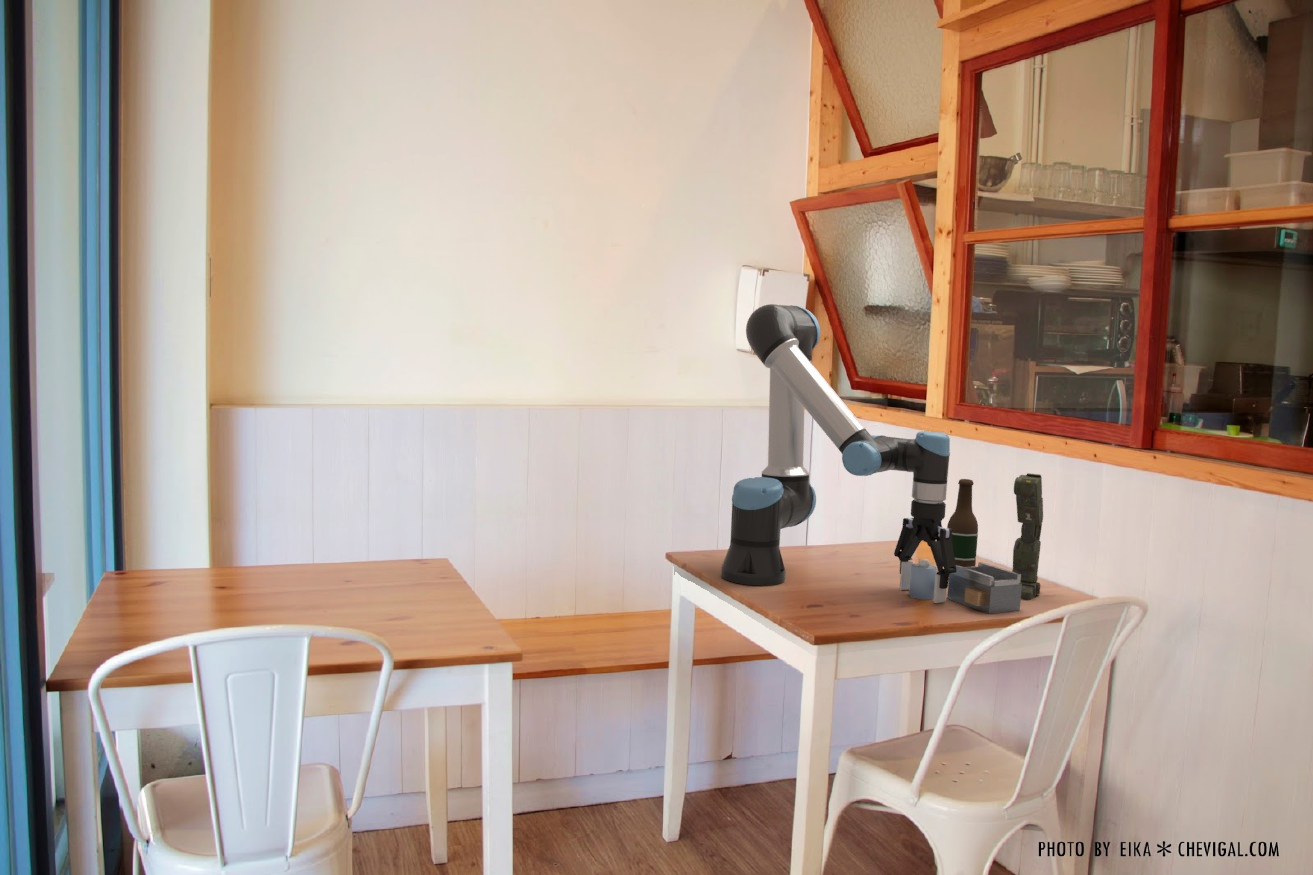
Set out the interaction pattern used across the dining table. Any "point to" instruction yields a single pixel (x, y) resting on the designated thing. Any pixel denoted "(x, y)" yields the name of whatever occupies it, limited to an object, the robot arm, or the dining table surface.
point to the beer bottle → (964, 527)
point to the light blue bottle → (922, 580)
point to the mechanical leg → (1028, 532)
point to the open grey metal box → (986, 588)
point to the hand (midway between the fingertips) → (921, 595)
